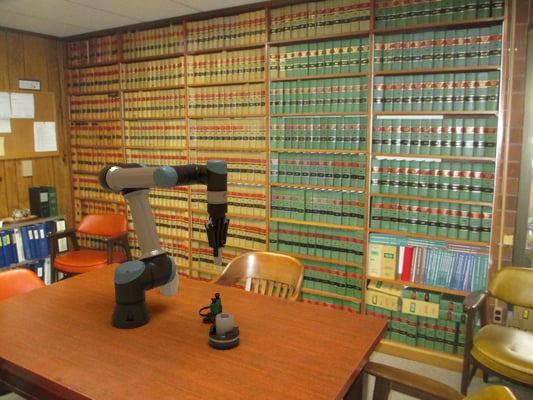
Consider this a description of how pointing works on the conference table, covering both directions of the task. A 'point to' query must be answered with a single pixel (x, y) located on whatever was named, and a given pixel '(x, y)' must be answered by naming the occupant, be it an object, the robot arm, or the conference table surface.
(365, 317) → the conference table surface
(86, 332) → the conference table surface
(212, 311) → the binoculars
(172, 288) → the mug
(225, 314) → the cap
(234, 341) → the black round base
